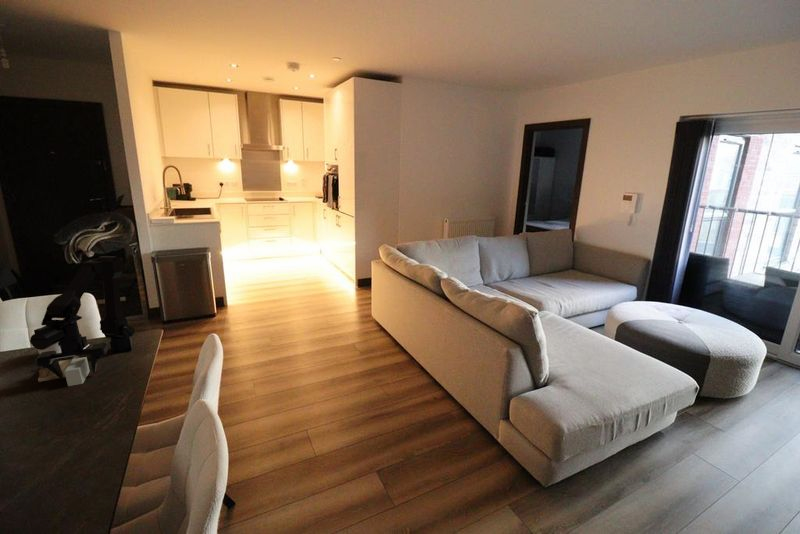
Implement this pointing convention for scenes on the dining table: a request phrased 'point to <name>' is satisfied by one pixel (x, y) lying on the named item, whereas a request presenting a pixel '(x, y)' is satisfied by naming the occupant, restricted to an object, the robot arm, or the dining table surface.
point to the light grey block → (77, 371)
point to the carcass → (49, 375)
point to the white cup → (51, 349)
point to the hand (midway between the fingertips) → (78, 375)
